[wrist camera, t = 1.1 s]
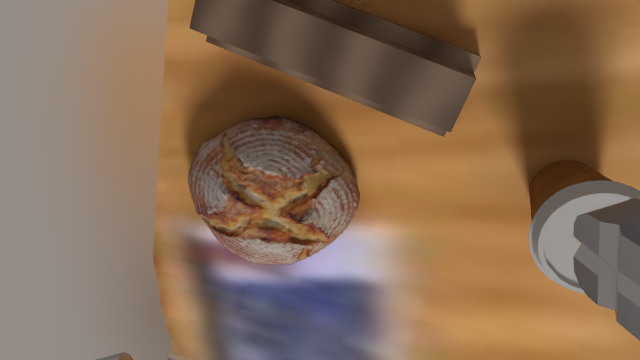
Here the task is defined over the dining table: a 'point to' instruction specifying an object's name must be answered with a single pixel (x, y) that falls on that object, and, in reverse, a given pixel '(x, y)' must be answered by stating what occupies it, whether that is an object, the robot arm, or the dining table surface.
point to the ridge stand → (347, 55)
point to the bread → (272, 190)
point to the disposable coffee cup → (566, 214)
